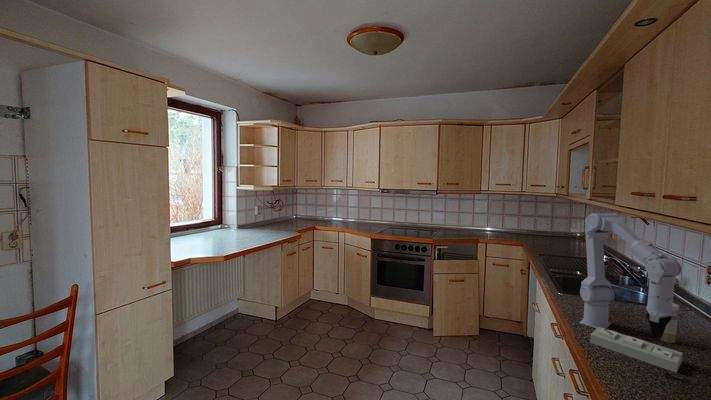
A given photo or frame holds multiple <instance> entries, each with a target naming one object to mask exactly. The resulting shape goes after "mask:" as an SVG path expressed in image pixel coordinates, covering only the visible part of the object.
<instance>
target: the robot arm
mask: <svg viewBox="0 0 711 400" xmlns="http://www.w3.org/2000/svg"><path fill="white" fill-rule="evenodd" d="M584 219H585V221H584V224H585V247H586V250H585V251H586V267H587V268H586V269H587V277H585V279H583V280H582V281H581V282H580V283H581V286H580V289H579V295H580V297H581V299H582V301H583V302H584V304H583V305H584V306H583V307H584V308H583V318H582V320H580V321H579V324H581V325H584V326H587V327H591V328H593V329H595V330H596V329H597V328H598V327H601V328H605V329H607V328H608V327H609V326H611V325H612V323H611V322H610V321H609V313H610V306H609V305H610V302H612V301H613V300H614V298H615V293H614V291H613V288H612V283H611V282H610V281H609V280H608V279H607V278H606V273H605V272H606V269H605V256H604V255H605V252H604V250H605V249H604V237H605V236H607V235H608V234H610V233H614V234H615V235H617V236H618V237H619V238H620V239H621V240H623V241H624V242H625V243H626V244H628V245H629V246H630V252H631V253H632V254H633V255H634V256H635V257H636V258H638V259H639V260H640V261H641V262H642V263H643V264H644V267H645V270H646V273H647V279H648V281H649V282H648V293H647V305H646V307H645V309H646V311H647V312H646V313H645V318H646V320H647V321H648V324H649V328H650V334H651V337H653V338H656V339H659V340H661V337H662V336H663V333H664V330H665V328H666V325H667V324H668V323H669V322H670V320H671V319H672V317H671V315H672V316H677V313H676V312H673V311H672V304H673V303H674V301H673V300H674V293H675V283H676V282H675V281H676V277H677V276H680V274H681V272H682V265H681V263H680V262H679V261H678V260H677V259H676V258H674V257H669V256H667V255H666V254H664V252H662V251H660V250H659V249H658V248H657V247H656V246H655V245H654V243H653V242H652V241H648V240H644V239H641V238H640V237H639V236H638V235H637V234H636V233H635V232H634V231H633V230H632V229H631V228H630V226H628V225H627V224H626V223H625V219H624V218H623V217H622V216H621V215H620V214H618V213H616V212H612V213H593V212H591V213H590V214H589V215H587V216H586V218H584Z"/></svg>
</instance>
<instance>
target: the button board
mask: <svg viewBox="0 0 711 400" xmlns="http://www.w3.org/2000/svg"><path fill="white" fill-rule="evenodd" d="M601 329H602V328H601V327H598V328H597V329H596V328H595V330H593V331H592V332H591V333H590V335H589V343H590V344H593V345H596V346H598V347H601V348H604V349H607V350H609V351H613V352H616V353H618V354H622V355H623V356H628V357H630V358H633V359H636V360H638V361H642V362H645V363H647V364H650V365H653V366H656V367H659V368H661V369H665V370H667V371H671V372H673V373H676V374H678V370H679V368H680V367H681V365H682V363H683V354H684V353H683V352H681V351H678V350H675V349H672V348H668V347H665V346H662V345H659V344H656V343H652V342H650V341H649V342H648V341H645V340H644V347H643V348H642V349H641V348H638V347H635V346H632V345H629V344H626V343H624V339H625V338H626V337H627V336H628V335H626V334H623V333H620V332H618V337H617V338H616V339H615V340H613V339H610V338H607V337H604V336H601V335H599V331H600V330H601ZM654 347H656V348H659V349H663V350H666V351H669V352H672V353H673V357H672V358H669V357H665V356H662V355H659V354H656V353H653V352H652V350H653V349H654Z"/></svg>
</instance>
